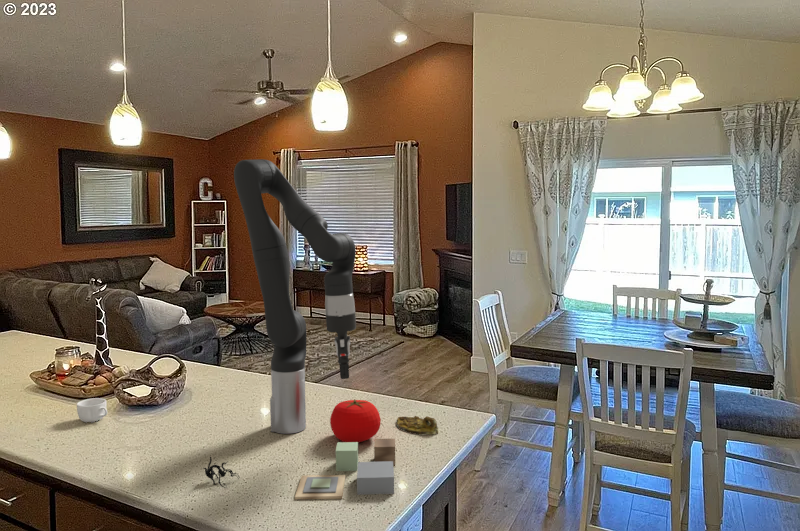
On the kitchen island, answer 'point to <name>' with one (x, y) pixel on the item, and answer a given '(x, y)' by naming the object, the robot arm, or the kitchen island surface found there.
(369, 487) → the grey base block
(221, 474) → the creature
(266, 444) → the kitchen island surface
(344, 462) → the sage block
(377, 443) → the walnut block
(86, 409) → the teacup
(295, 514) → the kitchen island surface
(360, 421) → the tomato
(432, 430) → the stuffed eggplant half
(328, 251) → the robot arm
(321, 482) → the tile
